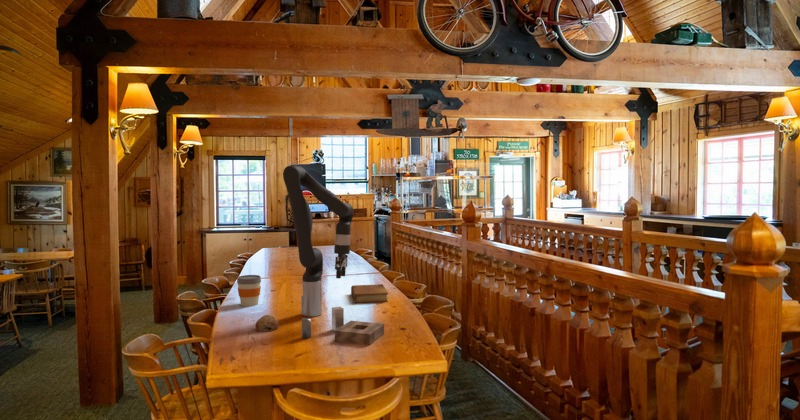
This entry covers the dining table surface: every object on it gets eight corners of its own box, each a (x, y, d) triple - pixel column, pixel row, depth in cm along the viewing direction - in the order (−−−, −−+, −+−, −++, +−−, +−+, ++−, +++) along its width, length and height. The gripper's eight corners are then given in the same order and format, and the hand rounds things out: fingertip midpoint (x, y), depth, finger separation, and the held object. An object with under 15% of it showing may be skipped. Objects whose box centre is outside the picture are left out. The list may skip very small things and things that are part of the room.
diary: (351, 295, 305) (351, 285, 305) (382, 293, 308) (382, 284, 308) (354, 304, 282) (353, 293, 282) (388, 302, 285) (388, 292, 285)
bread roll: (257, 340, 231) (258, 325, 228) (252, 325, 239) (254, 311, 236) (279, 336, 236) (281, 322, 232) (274, 322, 244) (275, 308, 240)
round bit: (300, 338, 221) (299, 319, 221) (304, 335, 225) (304, 317, 225) (308, 339, 220) (308, 320, 220) (312, 336, 224) (312, 318, 223)
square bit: (332, 329, 234) (331, 307, 233) (340, 328, 236) (339, 306, 235) (335, 331, 230) (335, 309, 230) (343, 330, 232) (343, 308, 232)
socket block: (334, 341, 217) (334, 330, 217) (350, 330, 232) (350, 320, 232) (370, 345, 212) (370, 334, 211) (384, 333, 227) (384, 323, 226)
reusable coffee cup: (257, 307, 275) (257, 279, 274) (234, 307, 276) (233, 279, 275) (264, 301, 288) (263, 274, 287) (241, 301, 288) (241, 274, 287)
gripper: (338, 242, 259) (336, 275, 259) (330, 244, 245) (329, 278, 245) (353, 243, 258) (351, 276, 258) (346, 245, 244) (344, 279, 244)
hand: (340, 277), depth 251 cm, fingers open, 8 cm apart
